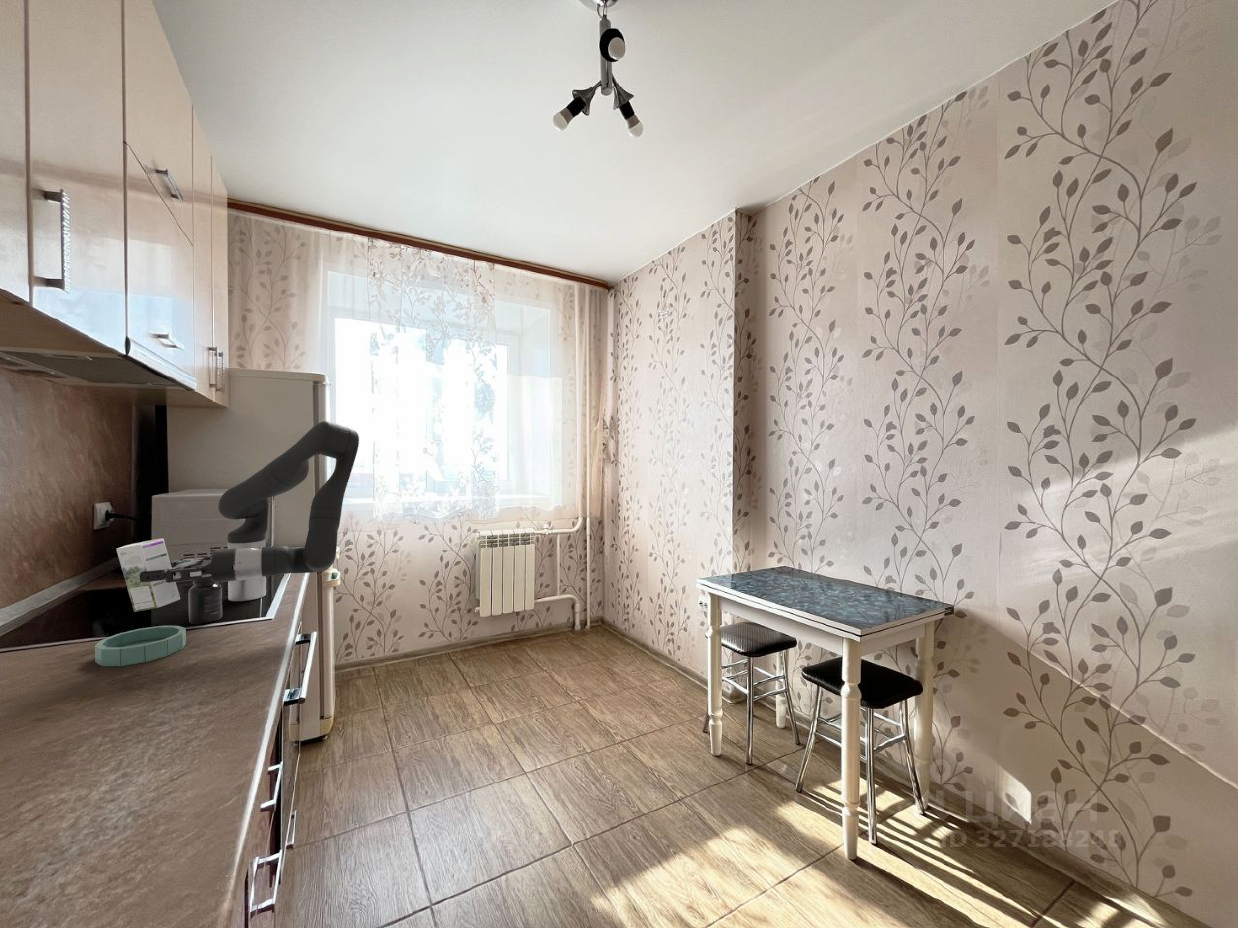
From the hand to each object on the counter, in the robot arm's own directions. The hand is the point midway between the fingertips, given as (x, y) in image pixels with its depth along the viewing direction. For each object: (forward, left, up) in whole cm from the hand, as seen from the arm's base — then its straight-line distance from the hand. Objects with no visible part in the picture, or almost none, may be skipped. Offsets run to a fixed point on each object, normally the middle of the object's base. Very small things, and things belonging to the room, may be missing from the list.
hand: (145, 572), depth 110 cm
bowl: (-1, -1, -18) cm, 18 cm away
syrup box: (0, +2, -8) cm, 8 cm away
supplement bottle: (-21, +7, -18) cm, 28 cm away
